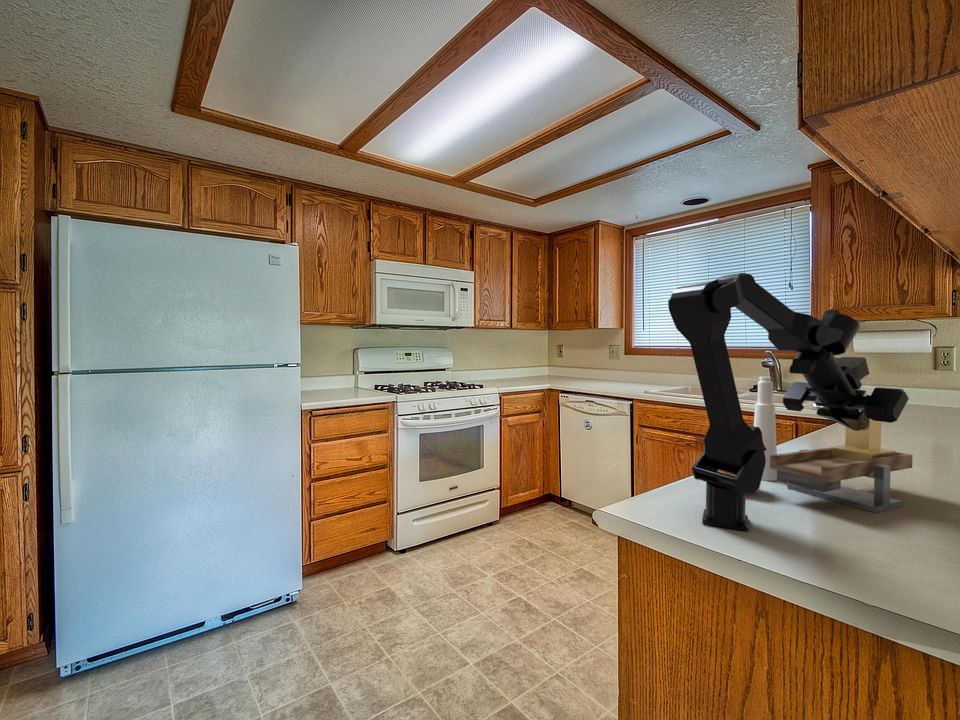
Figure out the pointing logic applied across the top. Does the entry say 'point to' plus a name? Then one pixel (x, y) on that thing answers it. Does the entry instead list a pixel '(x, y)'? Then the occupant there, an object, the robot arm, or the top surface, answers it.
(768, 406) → the cosmetic bottle
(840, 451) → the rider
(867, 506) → the beam stand
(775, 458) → the beam
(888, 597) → the top surface
